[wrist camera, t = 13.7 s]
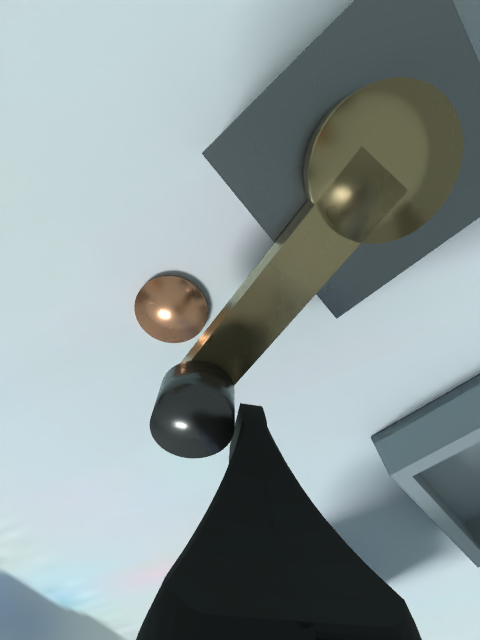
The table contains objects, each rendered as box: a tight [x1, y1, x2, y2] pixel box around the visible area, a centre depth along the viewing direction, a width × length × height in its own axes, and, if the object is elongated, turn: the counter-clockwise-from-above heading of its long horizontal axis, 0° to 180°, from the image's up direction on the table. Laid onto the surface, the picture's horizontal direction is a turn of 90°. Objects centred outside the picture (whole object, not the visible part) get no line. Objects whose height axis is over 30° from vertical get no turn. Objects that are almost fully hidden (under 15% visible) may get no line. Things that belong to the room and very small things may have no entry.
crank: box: [150, 77, 463, 458], centre depth 10 cm, size 12×4×3 cm, turn 143°
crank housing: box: [135, 0, 480, 343], centre depth 12 cm, size 7×14×3 cm, turn 131°
